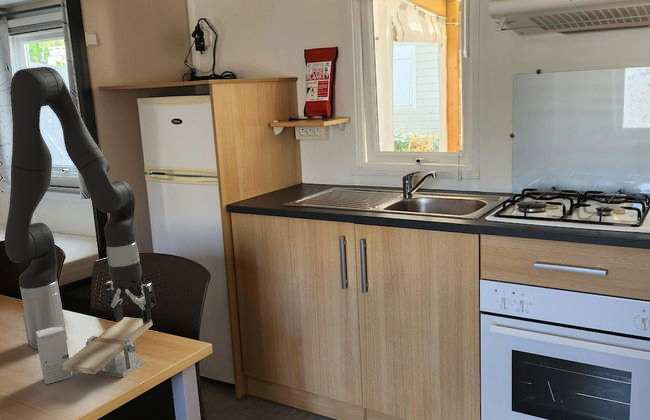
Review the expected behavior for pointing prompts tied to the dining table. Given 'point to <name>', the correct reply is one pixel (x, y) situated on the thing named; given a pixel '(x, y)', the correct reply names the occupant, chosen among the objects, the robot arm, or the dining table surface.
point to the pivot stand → (121, 361)
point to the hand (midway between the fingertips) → (133, 321)
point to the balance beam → (106, 346)
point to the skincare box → (53, 353)
